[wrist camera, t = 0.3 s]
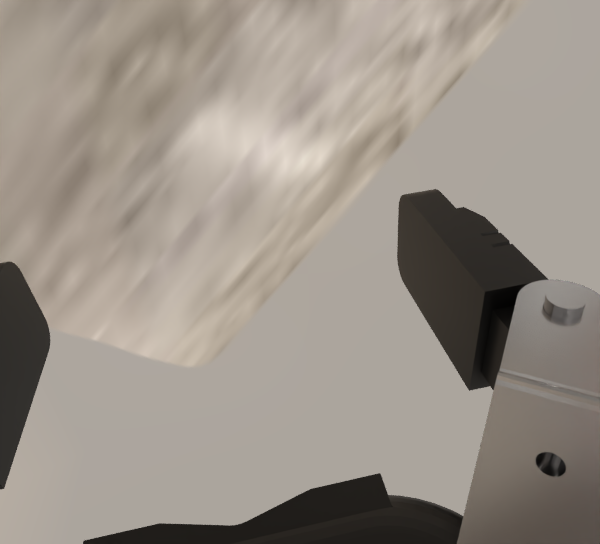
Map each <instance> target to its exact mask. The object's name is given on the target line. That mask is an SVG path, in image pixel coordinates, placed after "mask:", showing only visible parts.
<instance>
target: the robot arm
mask: <svg viewBox="0 0 600 544" xmlns="http://www.w3.org/2000/svg"><path fill="white" fill-rule="evenodd" d="M397 254H398V255H397V258H398V266H399V271H400V275H401V277H402V280H403V282H404V284H405V285H406V287H407V289H408V291H409V292H410V294H411V296H412V297H413V299H414V300H415V302H416V304H417V306H418V307H419V309H420V311H421V312H422V314H423V315H424V317H425V319H426V320H427V322H428V324H429V325H430V327H431V329H432V330H433V332H434V333H435V335H436V337H437V338H438V340H439V341H440V343H441V345H442V347H443V348H444V350H445V352H446V353H447V355H448V356H449V358H450V360H451V361H452V363H453V364H454V366H455V368H456V369H457V371H458V373H459V375H460V376H461V378H462V380H463V381H464V383H465V385H466V386H467V388H468V389H469V390H473V389H478V388H483V387H488V386H491V388H492V389H493V390H494V391H493V395H492V399H491V404H490V408H489V412H488V416H487V420H486V424H485V429H484V433H483V437H482V442H481V445H480V450H479V454H478V458H477V462H476V466H475V470H474V474H473V479H472V483H471V487H470V491H469V495H468V500H467V504H466V508H465V512H464V516H462V515H460V514H458V513H456V512H454V511H452V510H450V509H447V508H445V507H442V506H440V505H437V504H435V503H431V502H428V501H424V500H420V499H416V498H410V497H404V496H394V495H388V494H387V491H386V488H385V485H384V483H383V480H382V477H381V474H375V475H371V476H366V477H362V478H357V479H353V480H349V481H344V482H340V483H336V484H331V485H327V486H322V487H318V488H313V489H310V490H308V491H306V492H304V493H302V494H300V495H298V496H296V497H294V498H292V499H290V500H288V501H286V502H284V503H282V504H280V505H278V506H277V507H274V508H272V509H271V510H268V511H267V512H265V513H263V514H260V515H259V516H257V517H255V518H253V519H251V520H249V521H247V522H244V523H242V524H239V525H234V526H233V525H232V526H223V525H192V524H155V525H152V526H147V527H142V528H138V529H134V530H129V531H125V532H120V533H116V534H112V535H107V536H103V537H99V538H94V539H90V540H85V541H84V542H83V544H600V295H599V294H598V293H597V292H595V291H593V290H591V289H590V288H587V287H585V286H583V285H580V284H577V283H573V282H569V281H563V280H548V279H547V278H546V277H545V276H544V275H543V274H542V273H541V272H540V271H539V270H538V269H537V268H536V267H535V266H534V265H533V264H532V263H531V262H530V261H529V260H528V259H527V258H526V257H525V256H524V255H523V254H522V253H521V252H520V251H519V250H518V249H517V248H516V247H515V246H514V245H513V244H510V243H509V240H508V239H507V238H505V237H504V235H502V234H501V233H498V230H497V229H496V228H495V227H494V226H493V225H492V224H491V223H490V222H489V221H488V220H487V219H486V218H485V217H483V216H481V215H479V214H477V213H475V212H473V211H471V210H469V209H466V208H464V207H463V208H457V209H456V208H455V207H454V206H453V205H452V204H451V203H450V202H449V200H448V199H447V198H446V197H445V196H444V195H442V193H441V192H440V191H439V190H436V189H434V190H428V191H423V192H417V193H411V194H405V195H402V196H401V198H400V202H399V218H398V252H397ZM49 347H50V333H49V328H48V324H47V321H46V319H45V317H44V315H43V313H42V311H41V309H40V307H39V305H38V304H37V302H36V300H35V298H34V296H33V294H32V292H31V290H30V288H29V286H28V284H27V282H26V280H25V278H24V276H23V274H22V273H21V271H20V269H19V268H18V266H17V265H16V264H14V263H12V262H4V263H0V489H4V487H5V484H6V480H7V478H8V475H9V472H10V469H11V465H12V462H13V459H14V456H15V453H16V450H17V447H18V444H19V441H20V438H21V434H22V431H23V428H24V425H25V422H26V419H27V416H28V413H29V410H30V407H31V404H32V401H33V397H34V395H35V391H36V388H37V385H38V382H39V379H40V376H41V373H42V370H43V367H44V364H45V361H46V357H47V354H48V351H49Z"/></svg>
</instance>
